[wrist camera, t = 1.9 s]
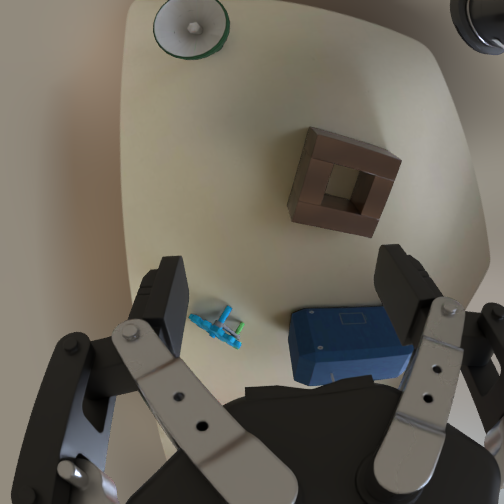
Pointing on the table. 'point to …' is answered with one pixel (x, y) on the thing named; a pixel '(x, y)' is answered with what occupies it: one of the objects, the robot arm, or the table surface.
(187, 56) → the flashlight
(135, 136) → the table surface
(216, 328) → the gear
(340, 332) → the radio
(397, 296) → the robot arm
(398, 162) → the holder
